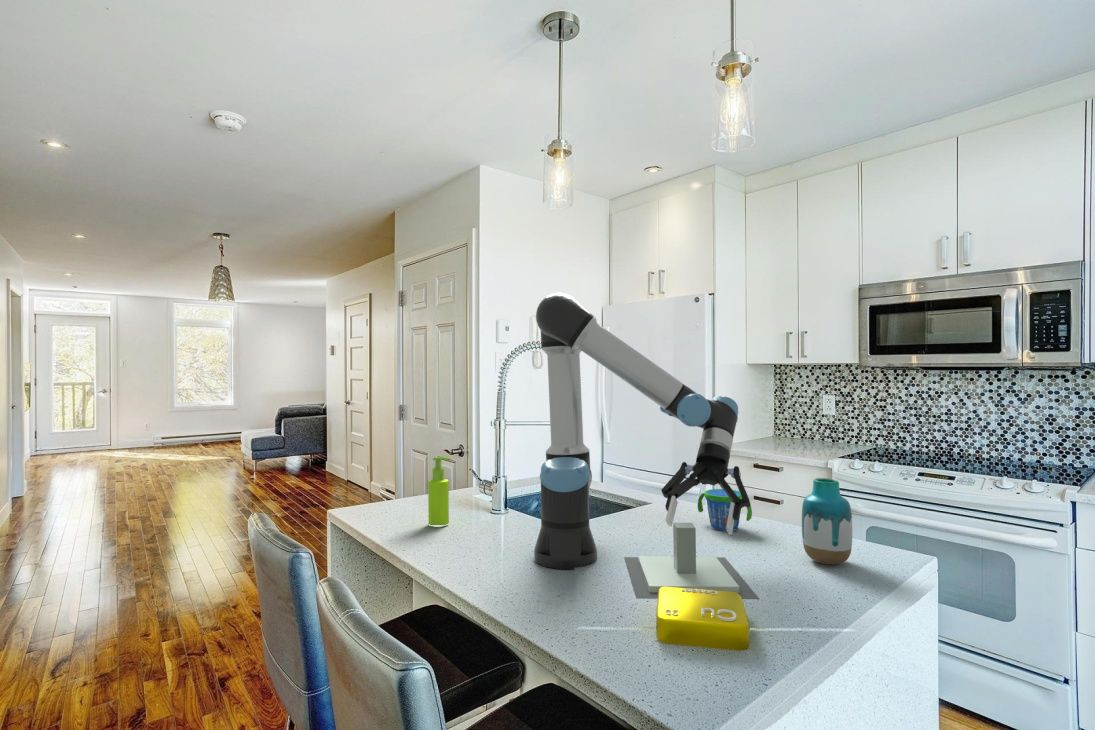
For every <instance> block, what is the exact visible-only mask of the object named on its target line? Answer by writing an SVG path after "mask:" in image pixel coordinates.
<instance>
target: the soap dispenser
mask: <svg viewBox="0 0 1095 730" xmlns="http://www.w3.org/2000/svg"><path fill="white" fill-rule="evenodd" d="M452 459H453V458H452V457H449V456H435V457H433V458H432V460H433V461H434V462H435V463H434V464H435V467H434V468H432V479H429V480H428V481H427V482H428V483H427V485H428V486H427V487H428V490H427V493H428V495H427V496H428V497H427V499H428V525H429V524H430V525H446V524H448V523H449V524H450V513H449V511H450V506H449V505H450V503H449V502H450V499H449V495H450V492H449V491H450V489H449V487H450V486H449V483H450V482H449V481H450V480H449V479H447V478H445V468H444V467H442V461H451V460H452Z"/></svg>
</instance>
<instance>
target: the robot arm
mask: <svg viewBox="0 0 1095 730" xmlns="http://www.w3.org/2000/svg"><path fill="white" fill-rule="evenodd" d="M535 319H536V323H537V326H538V328H539V330H540V345H541V347H540V348H541V350H542V351H543V352H544V353H545V354H546V357H547V375H548V376H547V377H548V379H547V380H548V403H549V421H550V423H549V424H550V446H548V448H547V449H546V450H545V461H544V462H543V463H542V465H541V467H540V474H539V479H540V522H541V523H540V524H541V525H540V530H539V533H538V536H537V539H536V543H535V546H534V550H533V553H534V555H533V557H534V559H535V560H534V559H533V560H534V562H535V563H537V565H538V564H539V565H540V566H543V567H545V568H551V569H558V570H575V569H576V568H583V567H588V566H589V565H593V564H594V563H595V562H596V561H597V560H598V549H597V546H596V545H597V544H596V543H595V539H594V537H593V534H592V533H593V532H592V530H591V525H590V487H591V484H592V479H593V474H592V470H591V455H590V453H591V452H590V449H589V447H588V446H586V445H585V443H584V428H583V403H582V387H581V386H582V384H581V357H580V356H581V355H580V354H581V352H582V353H584V354H585V355H587V356H589V357H591V358H592V360H594V361H596V362H597V363H598V364H600V365H601V366H602V367H604V368H605V369H607V370H608V371H609V372H611V373H613V374H614V375H615V376H617V377H618V378H620V379H621V380H622V381H623V382H625V383H627V384H628V385H630V386H631V387H632V388H634V389H635V390H637V391H638V392H639V393H641V394H642V395H644V396H645V397H647V398H648V399H650V400H651V401H653V402H654V403H655V404H657V406H659V410H660V412H662V413H664V414H666V415H668V416H669V417H673V418H675V419H677V420H679V421H680V422H682V423H683V425H685V426H687V427H698V428H701V429H703V430H702V433H701V434H702V435H701V438H700V443H699V446H698V447H699V448H698V450H697V454H696V460H695V463H694V464H693V465H691V464H688V463H687V462H686V461H683V462H682V463H681V464H680V468H679V469H678V470H677V471H676V472H675V474H673V476H672V477H671V478H670V480H669V481H668V482H667V483H666V484H665V485H664V486H663V487H662V488H661V490H660V491H661V493H662V496H663V498H664V499H666V503H665V506H664V507H665V510H666V512H667V514H666V516H665V522H666V523H667V526H668V527H672V526H673V523H674V519H675V514H676V511H677V508H678V504H679V502H678V498H680V497H682V496H683V495H684V494H685V493H687V492H688V491H690V490H691V489H693V487H697V486H698V485H700V484H701V485H705V486H706V485H710V486H716V485H719V487H720V489H723V490H724V491H725V492H726V494H727V495H728V496H729V498H730V499H731V501H732V502H731V504H730V509H729V515H728V520H727V526H726V529H727V531H726V532H727V534H728V535H729V536H733V532H734V530H733V526H734V520H739V521H740V517H741V511H742V508H744V507H746V508H747V507H750V506H751V504H752V503H751V501H750V498H749V495H748V493H747V491H746V488H745V486H744V484H743V481H742V479H741V477H742V476H741V470H740V467H739V466H737V465H735V466H734V467H733V468H728V467H729V461H730V457H731V452H732V449H733V448H732V447H733V442H734V436H735V430H736V426H737V422H738V420H739V419H738V418H739V417H738V415H739V406H738V403H737V402H736V401H735V400H734V399H733V398H730V397H729V396H727V395H726V396H722V395H718V396H714V397H712V399H707V398H706V397H705V396H704V395H702V394H700V393H697V392H696V391H694V390H693V389H691V388H690V387H688V386H687V385H686V384H684V383H683V382H682V381H680V380H679V379H677V378H676V377H675V376H673V375H671V374H670V373H669V372H668V371H666V370H664V369H663V368H662V367H660V366H659V365H658V364H656V363H654V362H653V361H652V360H650V359H649V358H647V357H646V356H645V355H643V354H641V352H639V351H637V350H636V349H635V348H633V347H632V346H631V345H629V344H627V343H626V342H625V341H623V340H622V339H621V338H619V337H617V336H616V335H615V334H613V333H612V332H610V331H609V330H607V329H606V328H604V327H603V326H602V325H600V324H599V323H598V321H597V317H596V316H595V315H593V314H592V313H590V311H588V310H587V309H586V308H585V307H584V306H582V305H581V304H580V303H579V301H577V299H576V298H574V297H573V296H571V295H569V294H567V293H563V292H556V293H555V292H554V293H551V294H549V295H547V296H545V297H544V298H542V300H541V301H540V303H539V304H538V306H537V309H536V312H535ZM691 472H692V473H691ZM690 473H691V474H690ZM688 475H689V476H688ZM687 476H688V477H687ZM727 476H731V478H732V479H734V481H735V484H736V486H737V487H736V488H737V489H738V491H739V492H740V494H741V496H742V499H740V498H738V496H737V495H736V494H735V492H734V491H733V490H734V489H733V488H731V486H730V485H729V483H728V482H727V481H726V479H725V478H727ZM686 477H687V478H686ZM751 507H752V506H751Z"/></svg>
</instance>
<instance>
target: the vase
mask: <svg viewBox="0 0 1095 730" xmlns="http://www.w3.org/2000/svg"><path fill="white" fill-rule="evenodd" d="M812 483H813V484H812V492H811V493H810V494H807V495H806V496H805V497H804V499H803V501H802V506H801V536H802V546H803V549H804V551H805V554H806V555H807V556H808V558H810V559H811V560H813V561H816V562H818V563H820V564H825V565H839V564H843V563H845V562H846V561H848V560H849V558H850V555H851V554H852V549H853V548H852V546H853V516H852V515H853V514H852V513H853V512H852V507H851V505H850V502H849V501H848V500H847V499H846V498H845V497H844V496H842V495H841V492H840V482H839V480H837V479H834V478H833V479H832V478H828V477H827V478H826V477H817V478H814V479H813V481H812Z"/></svg>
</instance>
